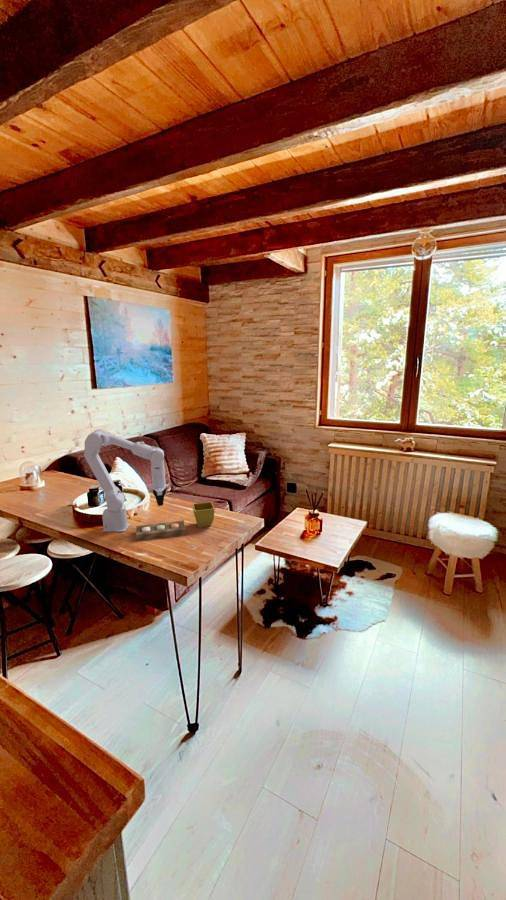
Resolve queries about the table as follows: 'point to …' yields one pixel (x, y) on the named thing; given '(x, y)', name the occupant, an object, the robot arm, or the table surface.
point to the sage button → (160, 527)
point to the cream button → (145, 529)
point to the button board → (160, 531)
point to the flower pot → (204, 513)
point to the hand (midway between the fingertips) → (160, 505)
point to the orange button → (174, 525)
